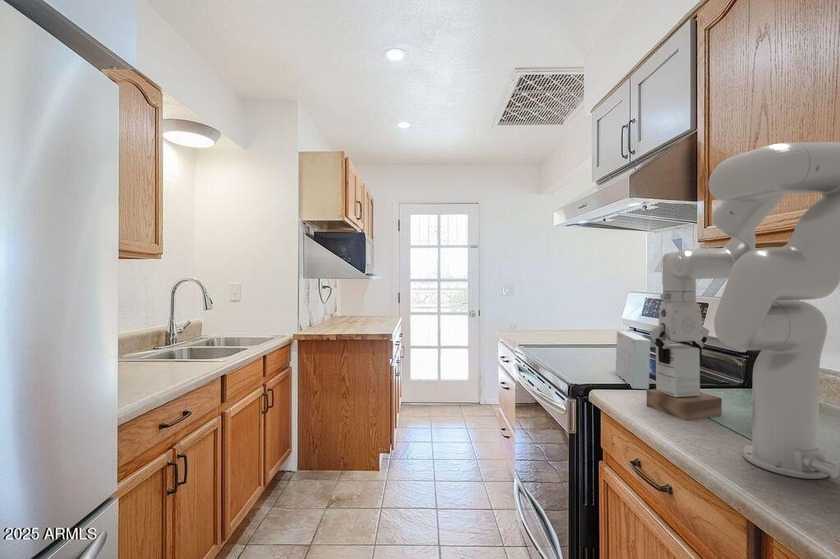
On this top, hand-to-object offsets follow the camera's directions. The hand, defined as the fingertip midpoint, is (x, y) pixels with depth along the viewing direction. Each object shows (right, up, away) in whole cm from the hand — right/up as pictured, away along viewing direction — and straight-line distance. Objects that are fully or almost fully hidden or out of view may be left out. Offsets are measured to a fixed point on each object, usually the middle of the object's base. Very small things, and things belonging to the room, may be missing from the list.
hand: (680, 362), depth 110 cm
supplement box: (-1, -9, 0) cm, 9 cm away
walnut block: (+1, -14, 0) cm, 14 cm away
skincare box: (+3, -13, +31) cm, 33 cm away
